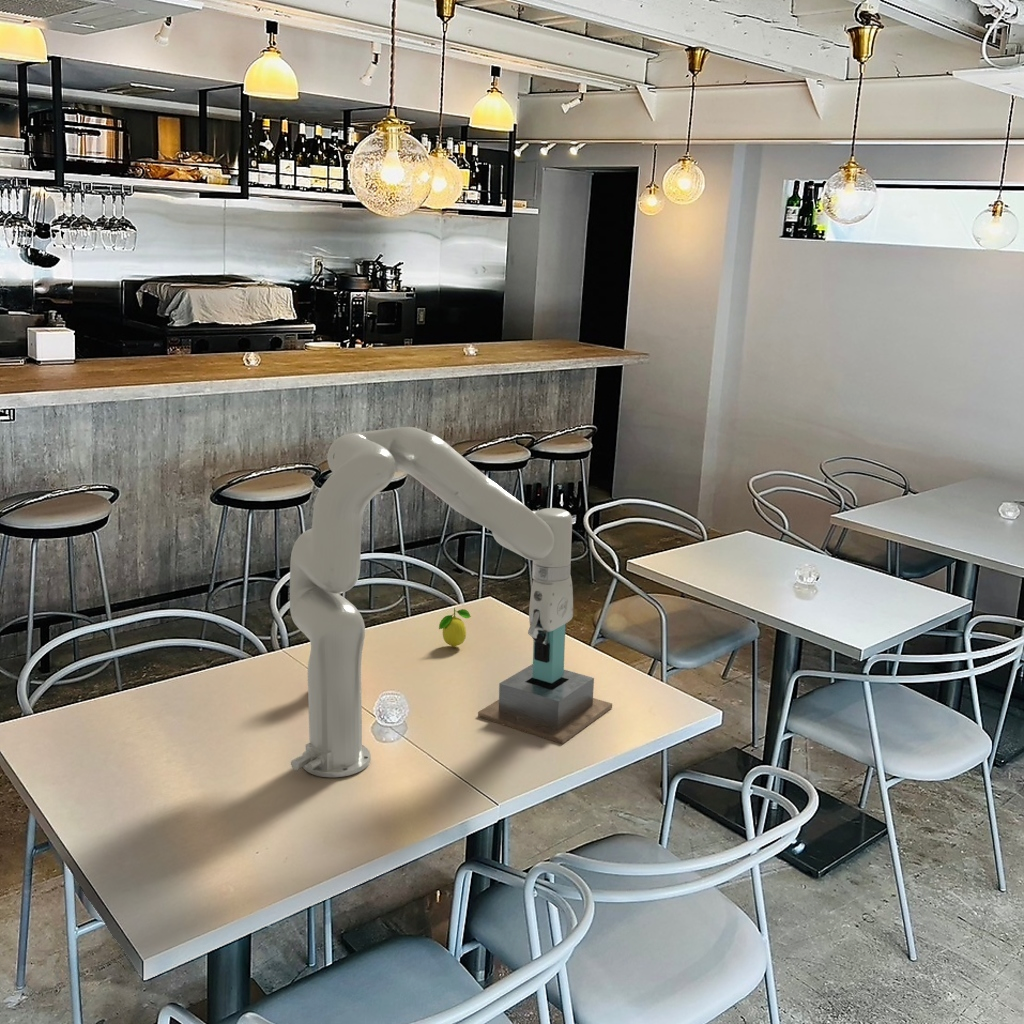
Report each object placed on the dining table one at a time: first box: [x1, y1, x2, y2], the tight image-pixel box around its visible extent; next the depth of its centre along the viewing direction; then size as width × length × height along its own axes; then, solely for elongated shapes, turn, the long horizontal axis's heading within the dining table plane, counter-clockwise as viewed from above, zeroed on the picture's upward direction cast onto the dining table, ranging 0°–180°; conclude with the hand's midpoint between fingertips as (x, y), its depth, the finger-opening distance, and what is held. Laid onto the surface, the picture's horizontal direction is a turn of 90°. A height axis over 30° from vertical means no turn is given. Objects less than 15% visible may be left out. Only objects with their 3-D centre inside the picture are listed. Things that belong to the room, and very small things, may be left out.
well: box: [477, 663, 613, 745], centre depth 217 cm, size 20×20×7 cm
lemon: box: [438, 607, 472, 648], centre depth 249 cm, size 7×6×10 cm
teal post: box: [532, 624, 566, 683], centre depth 214 cm, size 5×5×12 cm
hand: (548, 655), depth 215 cm, fingers closed on teal post, 4 cm apart
